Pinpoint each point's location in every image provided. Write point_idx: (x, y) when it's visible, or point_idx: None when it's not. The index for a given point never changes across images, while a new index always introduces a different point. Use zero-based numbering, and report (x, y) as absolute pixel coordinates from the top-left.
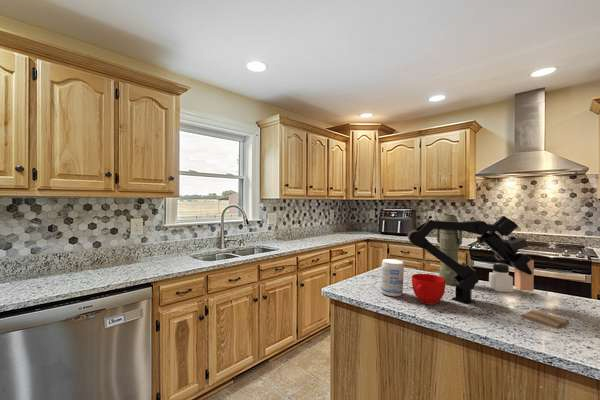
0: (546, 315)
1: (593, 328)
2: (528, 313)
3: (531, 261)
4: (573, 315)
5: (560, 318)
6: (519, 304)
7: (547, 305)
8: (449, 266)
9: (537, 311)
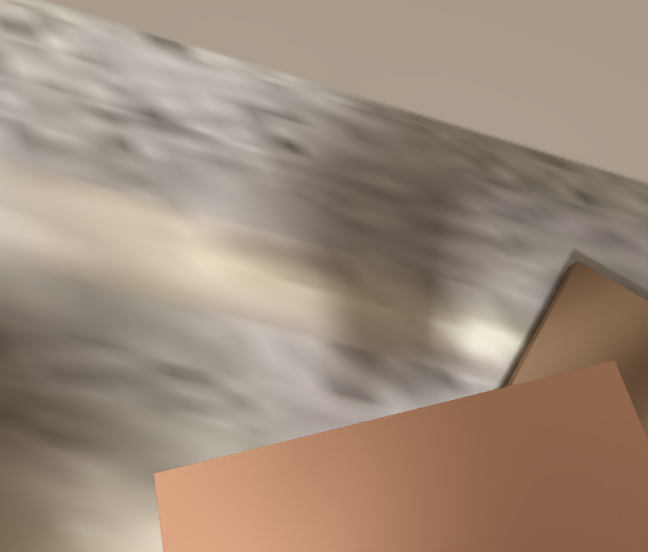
0: None
1: (600, 172)
2: None
3: (619, 439)
4: (404, 198)
5: (585, 305)
6: None
7: (247, 296)
8: None
9: None
